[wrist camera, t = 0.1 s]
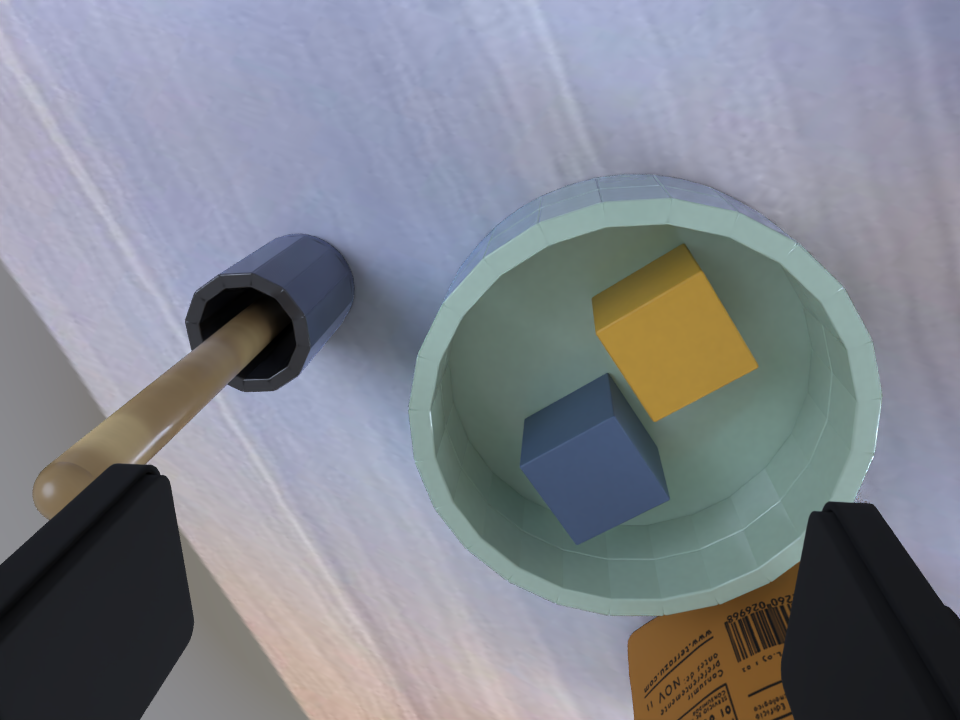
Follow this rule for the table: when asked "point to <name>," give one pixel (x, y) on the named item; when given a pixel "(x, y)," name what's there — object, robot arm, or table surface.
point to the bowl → (679, 436)
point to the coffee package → (715, 659)
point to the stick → (160, 406)
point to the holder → (297, 288)
